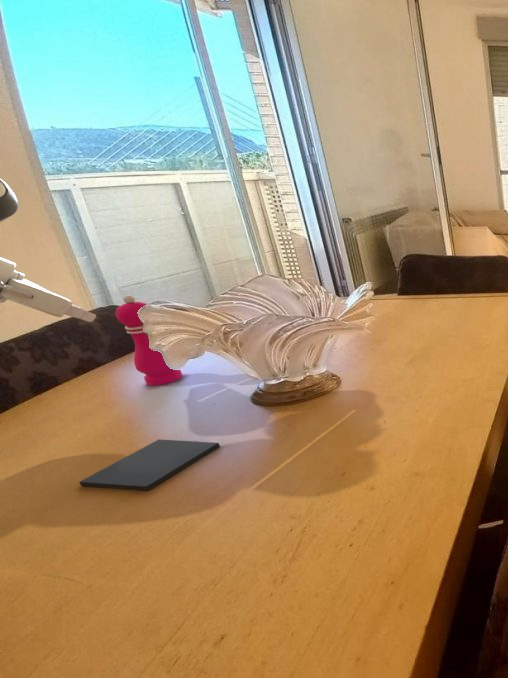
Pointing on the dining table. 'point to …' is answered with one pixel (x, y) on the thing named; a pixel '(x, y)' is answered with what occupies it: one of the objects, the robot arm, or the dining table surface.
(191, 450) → the slate mat
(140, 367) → the pepper mill
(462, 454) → the dining table surface
